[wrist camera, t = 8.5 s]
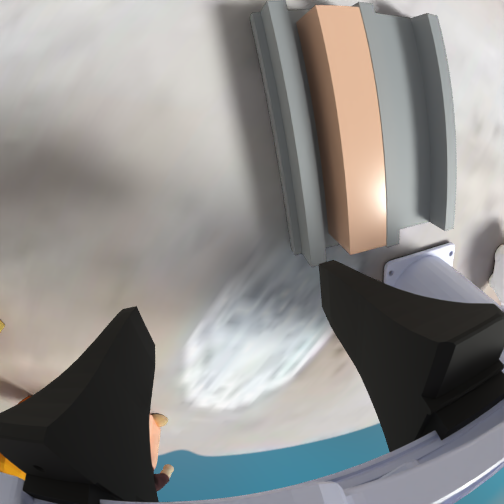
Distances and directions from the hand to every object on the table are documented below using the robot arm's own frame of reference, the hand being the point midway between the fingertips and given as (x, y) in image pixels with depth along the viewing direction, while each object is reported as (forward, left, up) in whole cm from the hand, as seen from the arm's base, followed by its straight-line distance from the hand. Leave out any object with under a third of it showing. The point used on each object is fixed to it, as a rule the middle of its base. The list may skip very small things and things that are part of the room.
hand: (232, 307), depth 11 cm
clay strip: (+5, -8, -8) cm, 13 cm away
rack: (+5, -11, -9) cm, 15 cm away
